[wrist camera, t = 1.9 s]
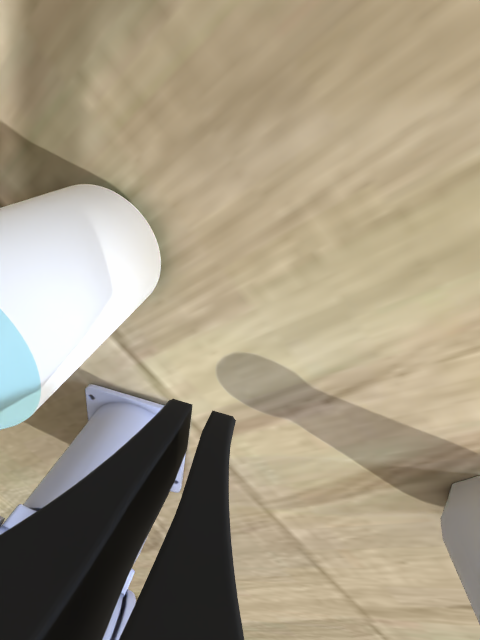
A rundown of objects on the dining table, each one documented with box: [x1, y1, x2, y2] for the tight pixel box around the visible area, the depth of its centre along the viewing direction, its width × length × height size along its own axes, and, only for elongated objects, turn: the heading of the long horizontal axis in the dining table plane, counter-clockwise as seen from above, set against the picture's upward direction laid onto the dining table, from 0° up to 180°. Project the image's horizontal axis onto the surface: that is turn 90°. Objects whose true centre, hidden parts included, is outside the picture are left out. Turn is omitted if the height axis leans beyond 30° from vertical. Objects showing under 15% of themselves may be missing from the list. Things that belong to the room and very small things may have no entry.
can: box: [0, 184, 161, 429], centre depth 16 cm, size 7×7×12 cm
